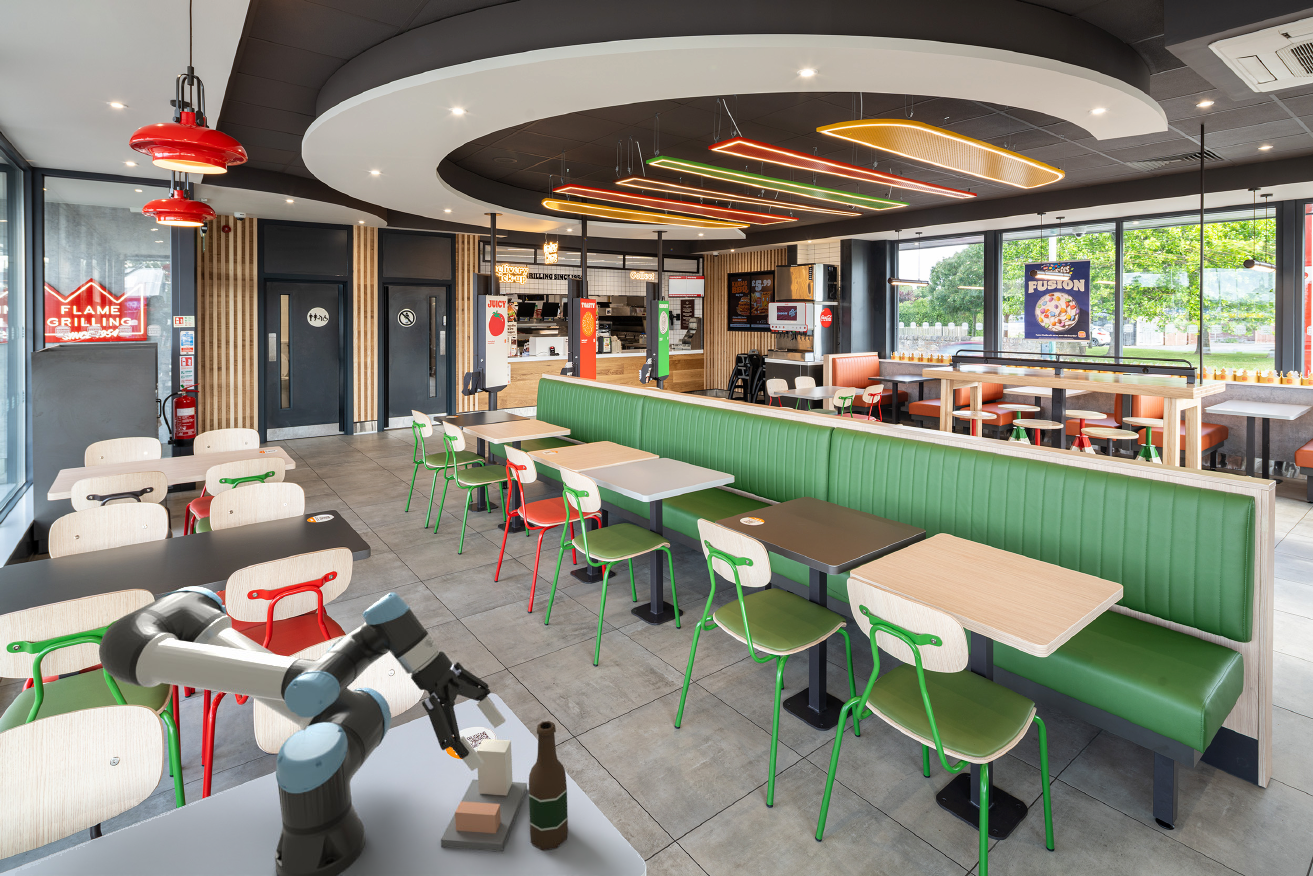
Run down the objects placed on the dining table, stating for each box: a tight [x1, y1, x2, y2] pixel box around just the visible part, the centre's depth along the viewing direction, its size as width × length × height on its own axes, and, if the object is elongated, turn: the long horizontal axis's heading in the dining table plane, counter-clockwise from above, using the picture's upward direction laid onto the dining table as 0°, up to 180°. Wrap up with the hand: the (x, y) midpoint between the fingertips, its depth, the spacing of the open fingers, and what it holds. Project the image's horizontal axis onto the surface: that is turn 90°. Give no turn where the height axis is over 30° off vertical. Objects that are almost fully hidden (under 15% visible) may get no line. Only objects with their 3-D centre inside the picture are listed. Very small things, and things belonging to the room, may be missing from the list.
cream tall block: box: [476, 738, 514, 795], centre depth 140 cm, size 6×4×10 cm, turn 85°
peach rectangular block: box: [454, 800, 501, 833], centre depth 131 cm, size 8×3×4 cm, turn 85°
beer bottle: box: [528, 720, 569, 851], centre depth 128 cm, size 8×8×24 cm
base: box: [440, 779, 528, 852], centre depth 135 cm, size 12×17×2 cm
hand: (489, 744), depth 134 cm, fingers open, 13 cm apart
